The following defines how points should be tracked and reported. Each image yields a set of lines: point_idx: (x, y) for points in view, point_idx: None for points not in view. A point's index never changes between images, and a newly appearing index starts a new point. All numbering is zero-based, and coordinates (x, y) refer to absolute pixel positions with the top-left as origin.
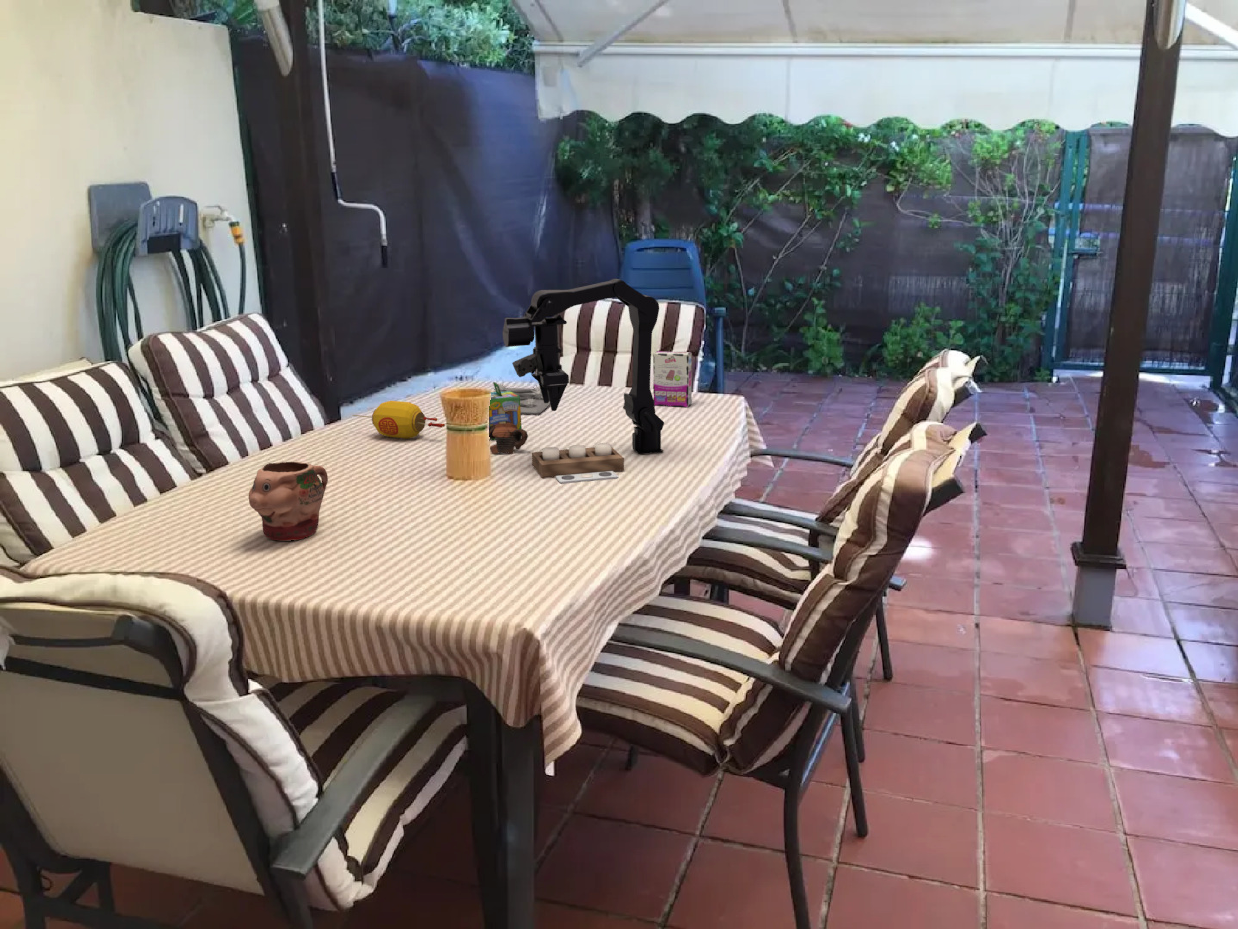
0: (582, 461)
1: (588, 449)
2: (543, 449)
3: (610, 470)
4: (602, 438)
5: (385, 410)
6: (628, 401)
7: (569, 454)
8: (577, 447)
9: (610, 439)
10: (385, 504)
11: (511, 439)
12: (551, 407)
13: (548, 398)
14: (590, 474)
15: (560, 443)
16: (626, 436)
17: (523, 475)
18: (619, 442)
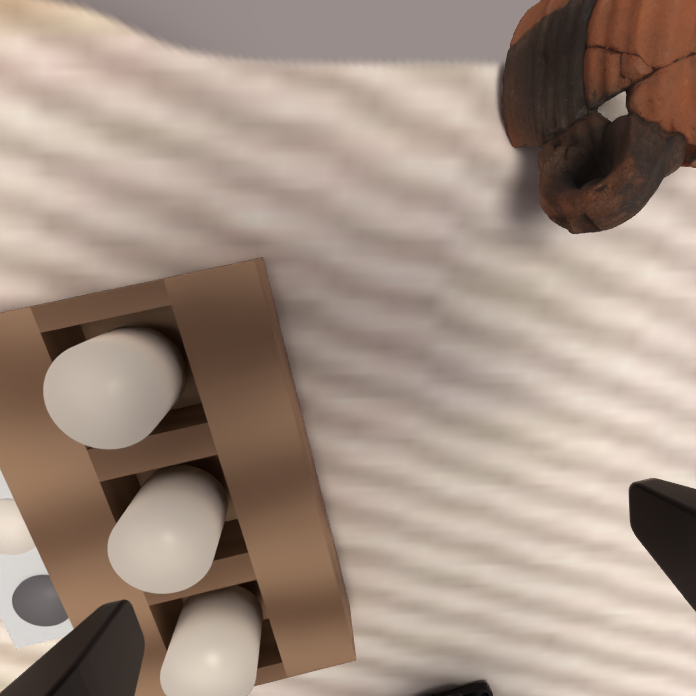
0: (39, 546)
1: (296, 568)
2: (97, 348)
3: None
4: None
5: None
6: None
7: (155, 484)
8: (154, 552)
9: (657, 600)
10: None
11: (574, 116)
12: (55, 647)
13: (680, 577)
14: (27, 543)
15: (653, 397)
16: (685, 655)
17: (49, 209)
18: (600, 633)
